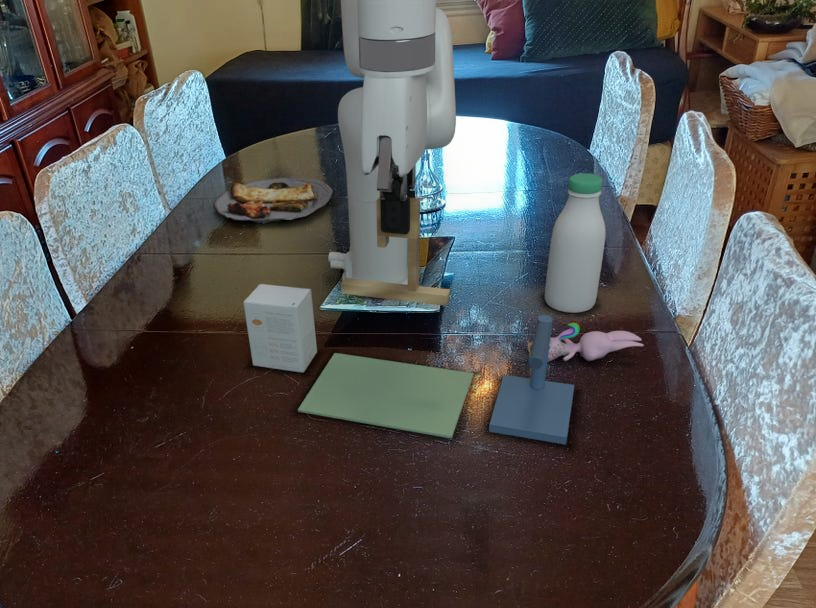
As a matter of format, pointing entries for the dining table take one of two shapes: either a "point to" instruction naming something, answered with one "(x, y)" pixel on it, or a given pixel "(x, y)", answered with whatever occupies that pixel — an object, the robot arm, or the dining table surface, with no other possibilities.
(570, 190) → the milk bottle
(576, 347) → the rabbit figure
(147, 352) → the dining table surface
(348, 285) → the hanger
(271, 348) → the small box
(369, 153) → the robot arm
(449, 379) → the mat
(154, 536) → the dining table surface
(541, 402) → the rail stand
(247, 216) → the food plate
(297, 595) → the dining table surface
